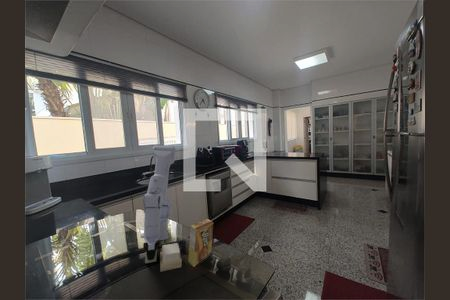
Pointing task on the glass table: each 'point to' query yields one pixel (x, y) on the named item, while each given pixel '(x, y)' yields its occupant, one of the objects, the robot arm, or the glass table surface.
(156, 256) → the block
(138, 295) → the glass table surface
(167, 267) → the slab bottom
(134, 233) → the glass table surface
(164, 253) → the slab top
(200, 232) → the candy box
